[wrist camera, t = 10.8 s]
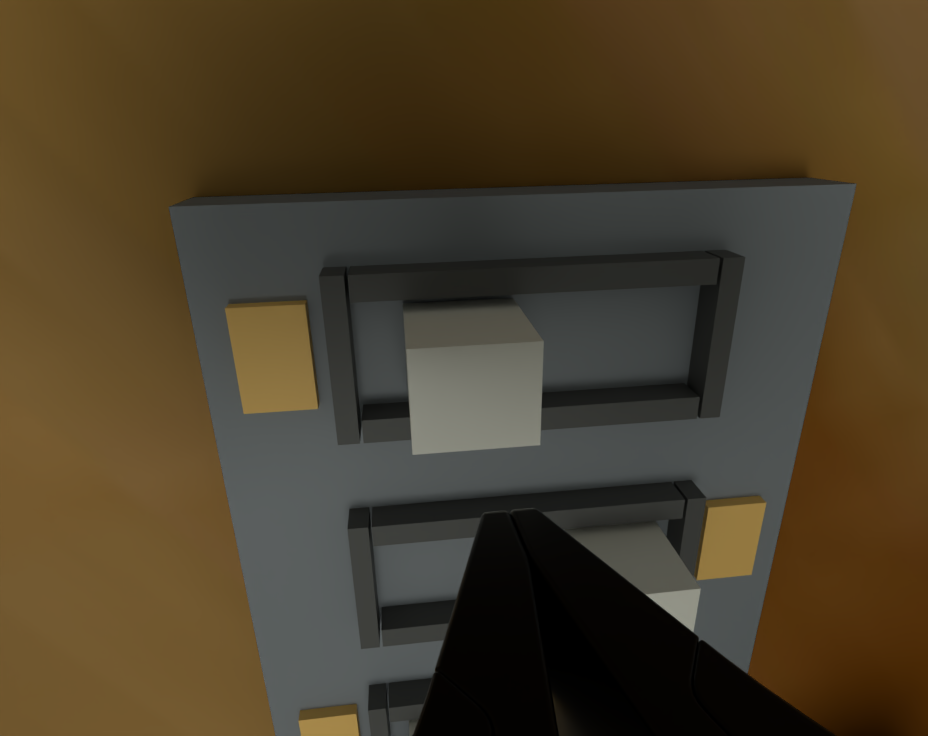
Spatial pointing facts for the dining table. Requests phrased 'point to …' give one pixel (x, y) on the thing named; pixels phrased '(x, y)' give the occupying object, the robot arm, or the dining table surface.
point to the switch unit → (562, 414)
